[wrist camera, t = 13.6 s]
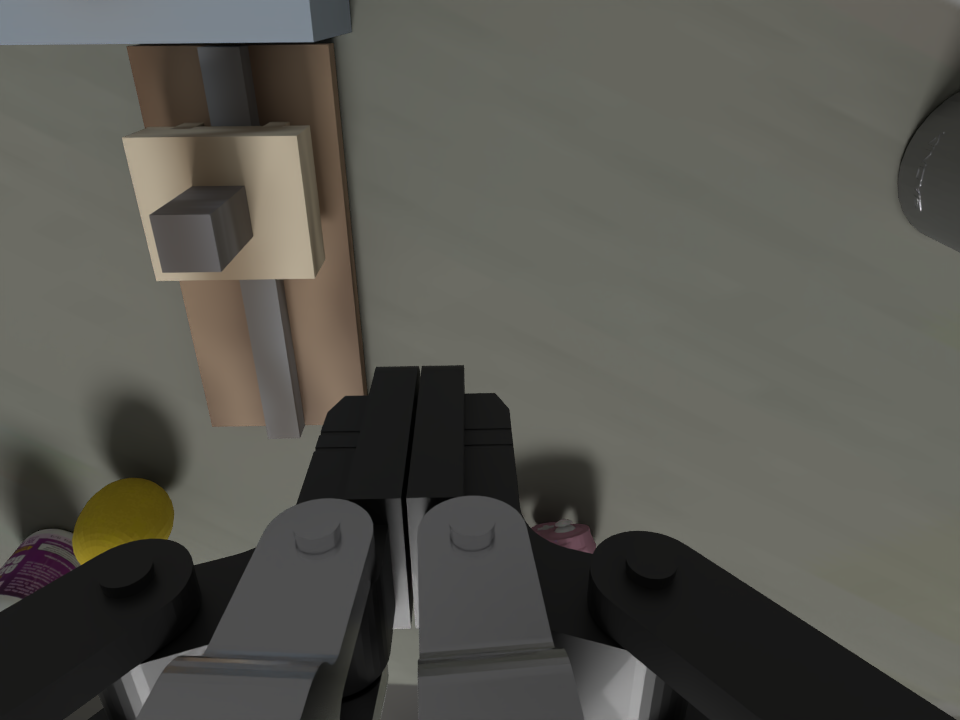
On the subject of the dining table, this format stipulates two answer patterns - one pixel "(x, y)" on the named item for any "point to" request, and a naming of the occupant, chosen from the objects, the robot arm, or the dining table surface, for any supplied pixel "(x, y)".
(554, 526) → the video game controller
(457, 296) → the dining table surface
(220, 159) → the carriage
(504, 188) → the dining table surface
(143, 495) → the lemon
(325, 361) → the rail
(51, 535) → the pill bottle
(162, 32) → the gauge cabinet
